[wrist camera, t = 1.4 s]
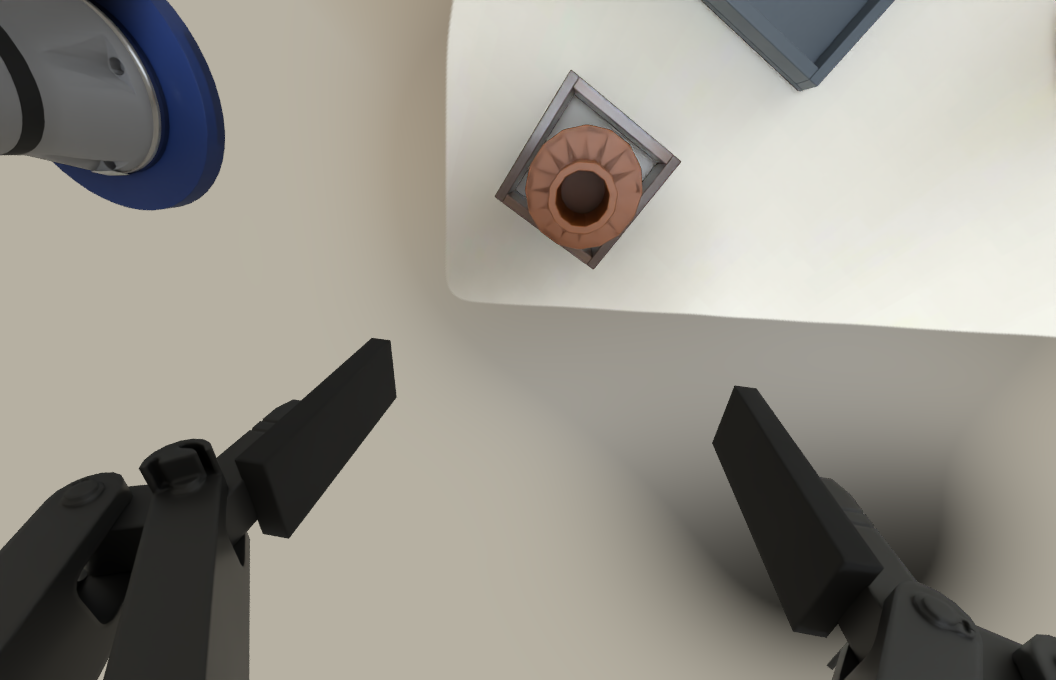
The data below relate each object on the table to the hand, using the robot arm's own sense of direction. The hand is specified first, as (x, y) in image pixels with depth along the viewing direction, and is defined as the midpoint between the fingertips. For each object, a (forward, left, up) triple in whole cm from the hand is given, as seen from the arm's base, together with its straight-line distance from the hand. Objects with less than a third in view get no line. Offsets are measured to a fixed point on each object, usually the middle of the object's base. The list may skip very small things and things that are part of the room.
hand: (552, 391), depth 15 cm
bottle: (-3, +5, -25) cm, 26 cm away
